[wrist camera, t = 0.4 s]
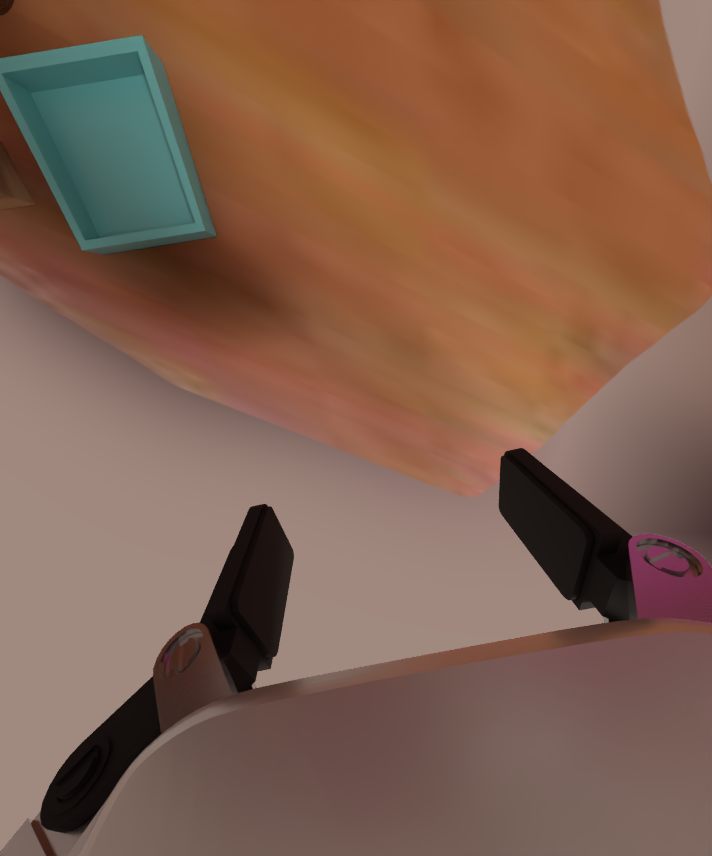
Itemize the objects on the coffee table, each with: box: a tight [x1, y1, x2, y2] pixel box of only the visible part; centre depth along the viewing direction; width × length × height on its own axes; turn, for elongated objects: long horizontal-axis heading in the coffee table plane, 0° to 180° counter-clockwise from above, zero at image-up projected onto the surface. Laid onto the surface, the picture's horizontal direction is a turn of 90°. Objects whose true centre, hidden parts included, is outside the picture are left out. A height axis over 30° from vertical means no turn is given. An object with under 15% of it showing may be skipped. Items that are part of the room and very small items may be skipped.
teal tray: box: [0, 35, 217, 255], centre depth 26 cm, size 14×14×3 cm
